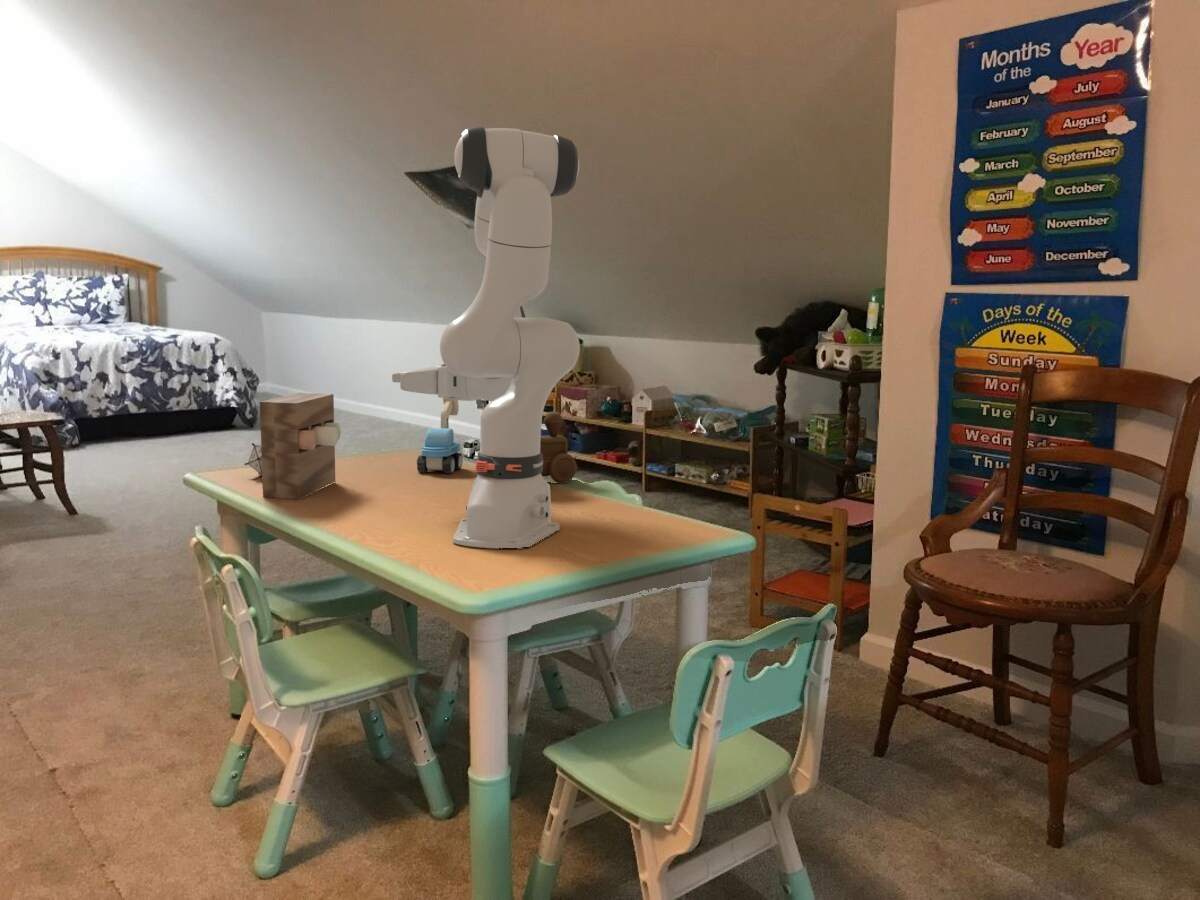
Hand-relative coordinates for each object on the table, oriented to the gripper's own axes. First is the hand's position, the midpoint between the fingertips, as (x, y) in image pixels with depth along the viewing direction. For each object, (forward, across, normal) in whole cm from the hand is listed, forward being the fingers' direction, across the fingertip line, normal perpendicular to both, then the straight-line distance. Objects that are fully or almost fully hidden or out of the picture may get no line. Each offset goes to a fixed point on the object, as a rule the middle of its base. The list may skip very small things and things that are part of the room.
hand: (394, 377), depth 207 cm
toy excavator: (-1, -31, +25) cm, 40 cm away
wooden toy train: (-25, -21, +25) cm, 41 cm away
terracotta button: (+18, +7, +15) cm, 25 cm away
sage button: (+18, -5, +15) cm, 24 cm away
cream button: (+16, +1, +15) cm, 22 cm away
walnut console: (+21, +1, +25) cm, 33 cm away
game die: (+35, -11, +25) cm, 44 cm away
